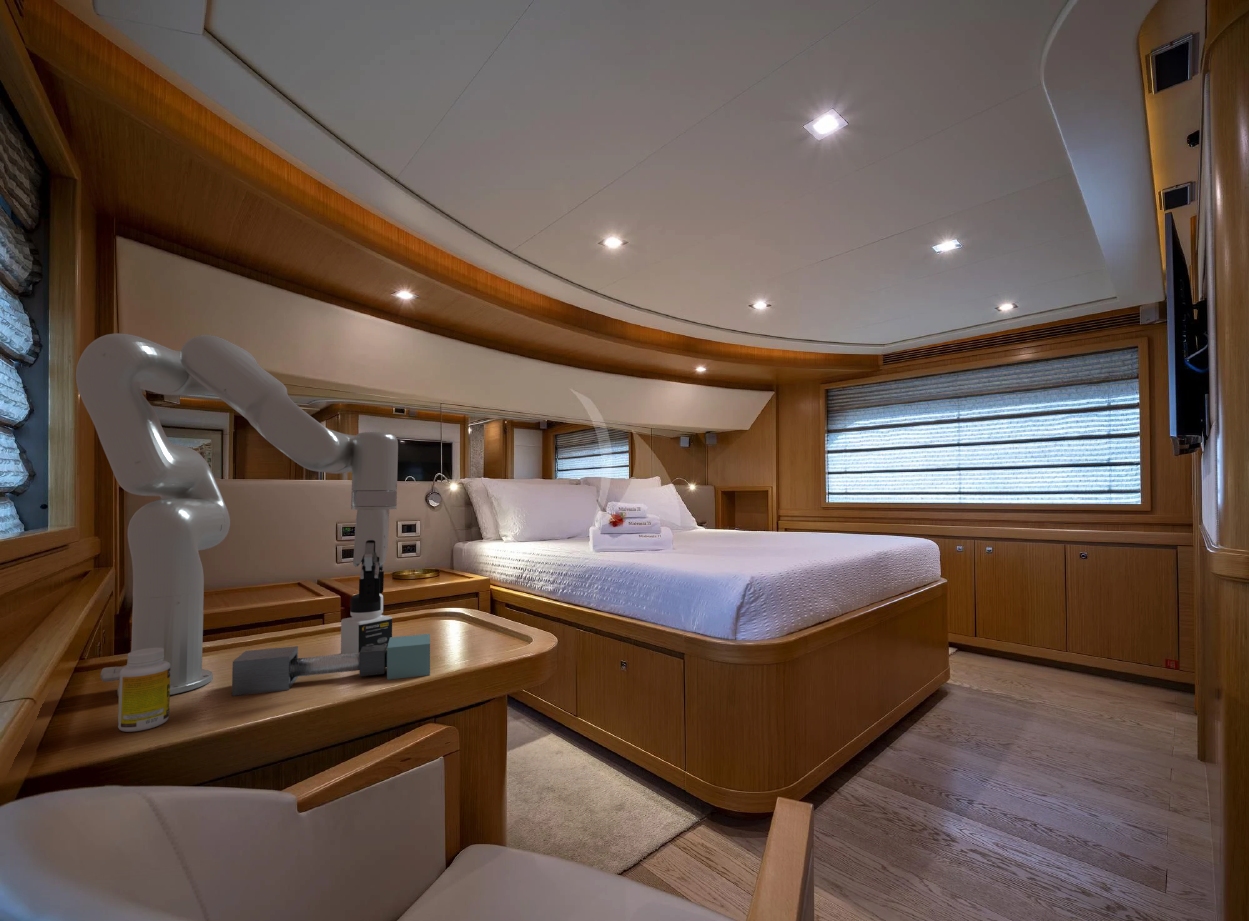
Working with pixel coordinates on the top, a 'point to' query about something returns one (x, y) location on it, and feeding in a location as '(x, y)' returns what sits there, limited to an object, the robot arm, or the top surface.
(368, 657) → the grey long rod
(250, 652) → the sleeve
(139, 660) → the supplement bottle
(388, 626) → the medicine bottle
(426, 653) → the block
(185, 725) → the top surface
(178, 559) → the robot arm
